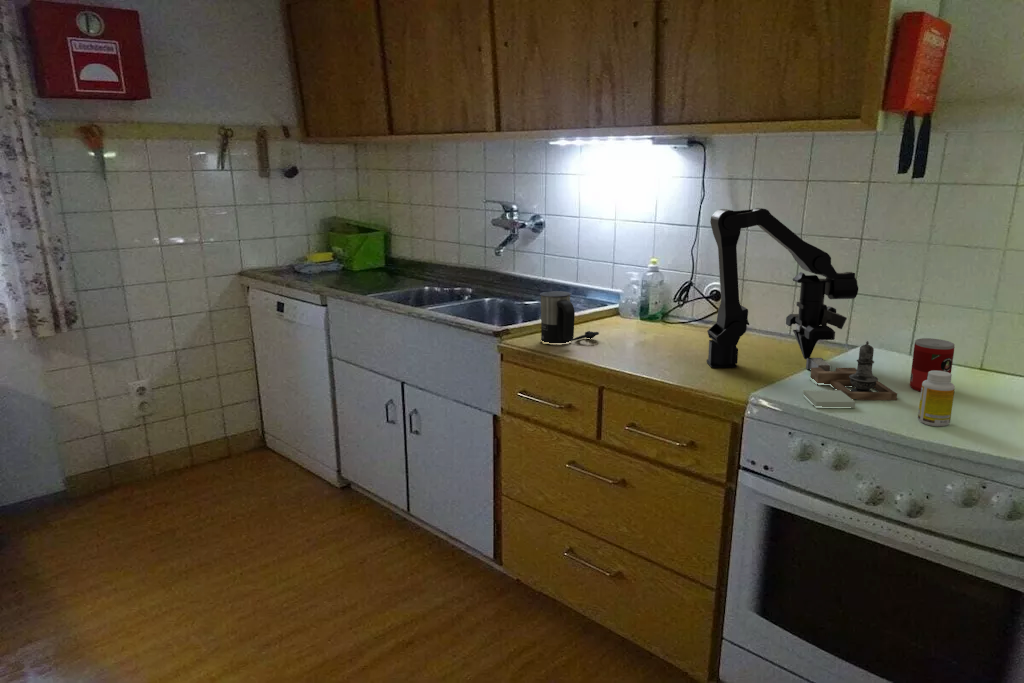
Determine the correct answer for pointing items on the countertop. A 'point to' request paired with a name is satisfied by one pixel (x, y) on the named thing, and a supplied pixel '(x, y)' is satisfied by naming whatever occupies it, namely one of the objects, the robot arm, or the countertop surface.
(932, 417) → the supplement bottle
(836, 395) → the grey square slab
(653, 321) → the countertop surface
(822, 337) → the robot arm
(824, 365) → the key bar
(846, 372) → the brown wooden tray
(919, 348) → the canned food
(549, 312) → the milk frother
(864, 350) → the dark grey tall figure
